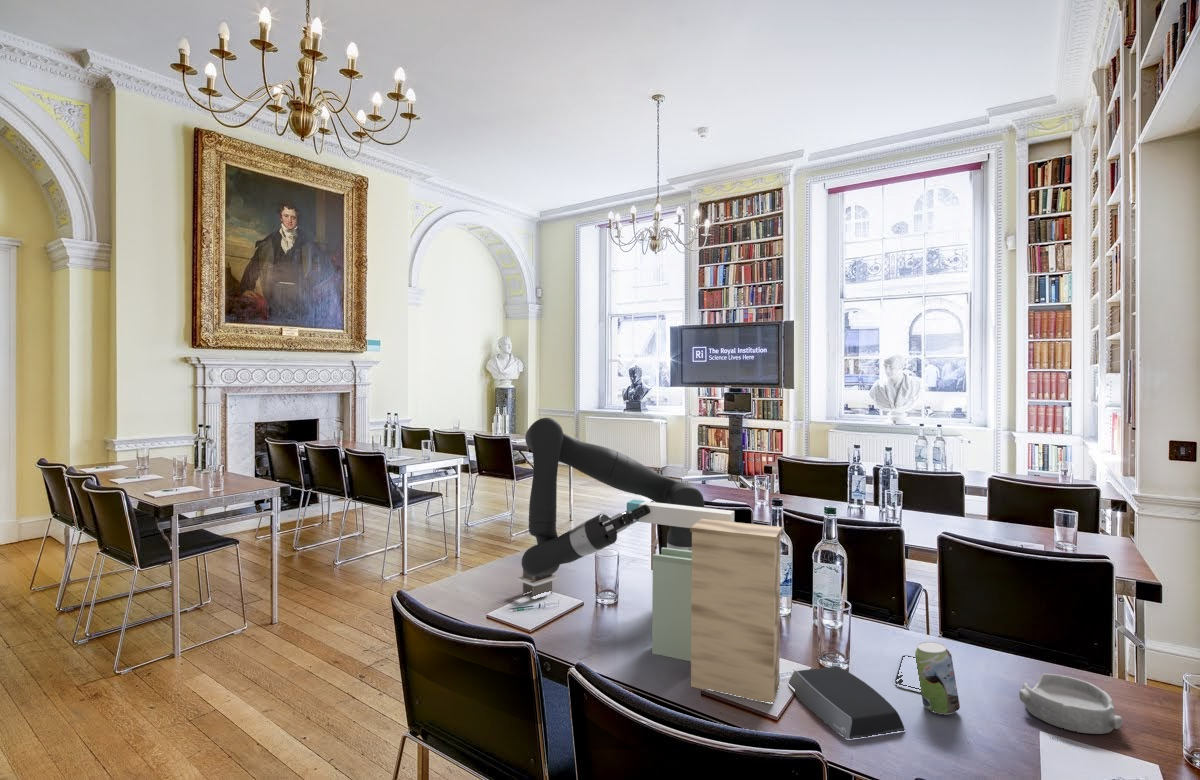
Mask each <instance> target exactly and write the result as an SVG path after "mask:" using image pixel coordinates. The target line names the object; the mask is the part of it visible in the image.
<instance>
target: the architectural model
mask: <svg viewBox="0 0 1200 780" xmlns="http://www.w3.org/2000/svg"><path fill="white" fill-rule="evenodd" d="M555 580H557V576H556V575H555V574H554V573H553V574H549V575H541V576H531V575H529V574H527V573H526V572H525V571H524V570H523V569H522V575H521V576H519V577H517V581H518V582H520V583H522V595H523V594H524V593H527V592H530V591H532V593H531V596H532V595H533V596H536V595H538V594H541V593H544V592H549V591H552V592H553V581H555Z"/></svg>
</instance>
